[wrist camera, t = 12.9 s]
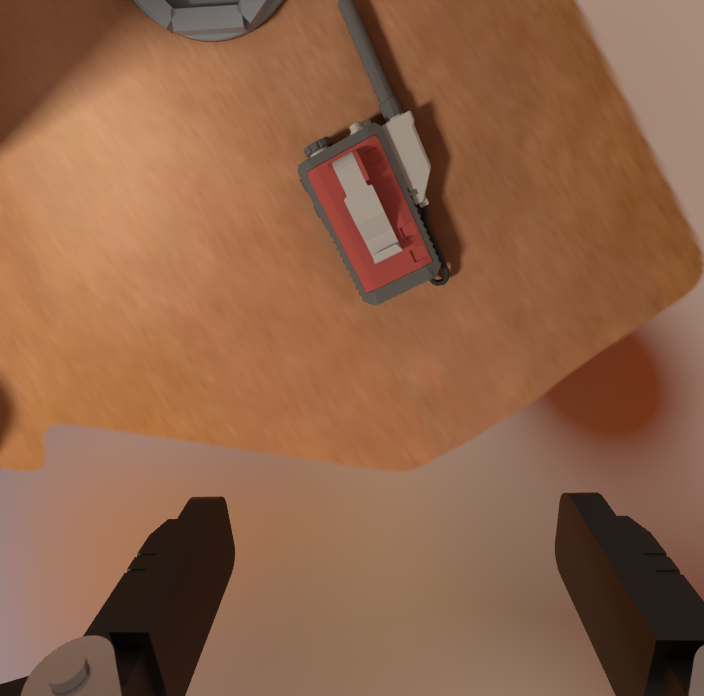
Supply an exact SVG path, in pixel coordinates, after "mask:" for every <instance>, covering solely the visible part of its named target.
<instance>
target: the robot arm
mask: <svg viewBox="0 0 704 696" xmlns="http://www.w3.org/2000/svg"><path fill="white" fill-rule="evenodd" d="M555 557H556V562H557V566H558V570H559V573H560V575H561V578H562V580H563V582H564V584H565V586H566V588H567V591H568V593H569V595H570V597H571V599H572V602H573V603H574V606H575V608H576V610H577V612H578V614H579V617H580V619H581V621H582V623H583V625H584V628H585V630H586V632H587V634H588V636H589V639H590V641H591V643H592V645H593V647H594V649H595V652H596V654H597V656H598V658H599V660H600V663H601V665H602V667H603V669H604V671H605V673H606V676H607V678H608V680H609V682H610V684H611V686H612V689H613V691H614V693H615V695H616V696H704V601H703V600H702V599H701V597H700V596H699V595H698V594H697V592H696V591H695V590H694V588H693V587H692V586H691V584H690V583H689V582H688V581H687V579H686V578H685V577H684V575H681V574H680V572H679V569H678V568H677V566H676V565H675V564H674V562H673V561H672V560H671V559H670V557H667V556H666V552H665V551H664V550H663V548H662V547H661V546H660V544H659V543H658V542H657V540H656V539H655V538H654V537H653V536H652V534H651V533H650V532H649V531H647V530H646V529H645V528H643V527H642V526H641V525H639V524H638V523H637V522H635V521H634V520H633V519H631V518H630V517H628V516H616V515H615V513H614V512H613V510H612V509H611V508H610V506H609V505H608V503H607V502H606V500H605V499H604V498H603V496H602V495H601V494H599V493H563V494H562V495H561V498H560V504H559V513H558V522H557V530H556V539H555ZM234 560H235V546H234V540H233V535H232V530H231V525H230V519H229V514H228V509H227V505H226V501H225V499H224V498H223V497H192V498H190V500H189V501H188V502H187V504H186V505H185V507H184V509H183V510H182V512H181V514H180V515H179V517H178V519H168V520H167V521H166V522H164V523H163V524H162V525H161V526H160V527H159V528H157V529H156V530H155V531H154V532H153V533H151V534H150V535H149V537H148V538H147V540H146V541H145V543H144V545H143V546H142V547H141V549H140V550H139V552H138V555H137V557H135V558H134V560H133V561H132V563H131V564H130V566H129V567H128V569H127V573H124V575H123V577H122V578H121V579H120V581H119V582H118V584H117V585H116V587H115V589H114V590H113V592H112V593H111V595H110V596H109V598H108V599H107V601H106V602H105V604H104V605H103V607H102V608H101V610H100V611H99V613H98V614H97V616H96V617H95V619H94V621H93V622H92V624H91V625H90V627H89V628H88V630H87V631H86V633H85V634H84V636H83V637H80V638H77V639H74V640H72V641H69V642H67V643H65V644H63V645H62V646H60V647H58V648H57V649H55V650H54V651H52V652H51V653H50V654H49V655H48V656H46V657H45V658H44V659H43V660H42V661H41V662H40V663H39V664H38V665H37V666H36V668H35V669H34V670H33V671H32V673H31V674H30V675H29V676H27V677H24V678H21V679H17V680H14V681H10V682H7V683H3V684H0V696H185V694H186V692H187V689H188V687H189V684H190V682H191V678H192V676H193V674H194V671H195V668H196V666H197V663H198V660H199V658H200V655H201V653H202V650H203V647H204V645H205V642H206V640H207V637H208V634H209V632H210V629H211V626H212V624H213V621H214V619H215V616H216V613H217V611H218V608H219V605H220V603H221V600H222V598H223V595H224V592H225V590H226V587H227V584H228V582H229V579H230V577H231V574H232V570H233V566H234Z"/></svg>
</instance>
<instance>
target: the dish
mask: <svg viewBox="0 0 704 696" xmlns="http://www.w3.org/2000/svg"><path fill="white" fill-rule="evenodd" d="M133 1H134V2H135V3H136V4H137V5H138V7H139V8H140V9H141V10H142V11H144V12H145V13H146V14H147V15H148V16H149V17H151V18H152V19H153V20H154V21H156V22H157V23H159V24H160V25H162V26H163V27H165V28H166V29H167V30H169V31H170V32H171V33H173V32H174V33H176V34H177V35H179V36H183V37H186V38H189V39H192V40H197V41H203V42H220V41H228V40H232V39H235V38H238V37H241V36H243V35H245V34H247V33H249V32H252V31H253V30H255V29H256V28H258V27H259V26H260V25H262V24H263V23H264V22H265V21H266V20H267V19H269V18H270V17H271V16H272V15H273V14H274V12H275V11H276V10H277V9H278V7H279V6H280V5H281V4H282V2H283V0H133Z"/></svg>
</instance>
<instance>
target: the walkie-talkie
mask: <svg viewBox="0 0 704 696" xmlns="http://www.w3.org/2000/svg"><path fill="white" fill-rule="evenodd" d="M338 6H339V9H340V12H341V14H342V16H343V19H344V21H345V23H346V26H347V28H348V30H349V33H350V35H351V37H352V40H353V42H354V44H355V47H356V49H357V51H358V54H359V56H360V58H361V61H362V63H363V65H364V68H365V70H366V72H367V74H368V77H369V79H370V81H371V84H372V86H373V88H374V91H375V93H376V95H377V98H378V100H379V102H380V106H379V107H380V110H381V112H382V114H383V117H384V119H385V121H386V124H384V125H382V126H380V125H379V124H377V123H375V122H374V123H371V120H370V118H368V119H366V120H364V121H363V122H361V123H360V121H359V122H357V123H355V124H353V125H351V126H350V127H349V128H350V130H351V133H350V134H351V135H350V136H348V137H346V138H345V139H343V140H341V141H339V142H338V143H336V144H334V145H332V146H331V144H332V142H331V139H330V138H329V137H324V138H322V139H320V140H318V141H316V142H314V143H312V144H311V145H309V146H308V147H307V148H305V150H304V153H305V155H306V156H307V157H311V158H309V159H307V160H306V161H304V162H302V163H301V164H299V168H298V174H299V176H300V178H301V179H300V181H301V183H302V185H303V187H304V189H305V191H306V192H308V193H309V195H310V197H311V199H312V201H313V203H314V209H315V211H316V213H317V214H318V216H319V218H321V219H322V221H323V223H324V225H325V227H326V229H327V230H329V232H330V237H332V238H333V240H334V241H333V243H335V244H336V246H337V248H336V249H337V250H339V252H340V257H342V258H343V263H344V264H346V266H347V270H349V272H350V276H351V277H352V278H353V282H354V283H355V284H356V288H357V289H358V290H359V294H360V296H362V298H363V301H365V302H367V303H369V304H372V305H377V304H380V303H382V302H384V301H386V300H388V299H391V298H393V297H395V296H397V295H399V294H401V293H403V292H405V291H407V290H410V289H412V288H414V287H416V286H418V285H420V284H422V283H424V282H427V281H430V282H431V283H432V284H433V285H436V286H439V285H444V284H445V283H447V281H448V279H449V269H448V267H447V265H446V262H445V260H444V258H443V255H442V253H441V251H440V248H439V246H438V244H437V242H436V239H435V237H434V235H433V232H432V230H431V227H430V225H429V222H428V209H427V206H426V205H428V204H429V203H428V200H427V198H426V195H425V192H426V187H427V183H428V178H429V174H430V169H431V165H430V162H429V160H428V157H427V155H426V152H425V150H424V147H423V145H422V143H421V140H420V138H419V135H418V133H417V130H416V128H415V125H414V122H415V119H414V117H413V115H412V112H411V110H410V111H407V112H406V113H403V111H402V109H401V106H400V104H399V102H398V100H397V97H395V96H394V95H393V93H392V90H391V88H390V86H389V83H388V81H387V79H386V76H385V74H384V71H383V69H382V67H381V64H380V62H379V60H378V57H377V55H376V52H375V50H374V48H373V45H372V43H371V40H370V38H369V36H368V33H367V31H366V29H365V26H364V24H363V21H362V19H361V17H360V14H359V12H358V10H357V7H356V5H355V2H354V0H339V2H338ZM414 204H415V205H417V204H418V205H419V207H420V208H422V220H421V219H420V217H421V216H420V214H419V213H418V212H417V210H418V209H417V207H415V205H414ZM423 224H424V226H423ZM426 232H427V233H426ZM429 239H430V240H429ZM438 259H439V260H438ZM440 266H442V269H443V272H444V275H443V278H442V279H440V280H435V279H434V277H436V276H437V275H438V272H439V269H440Z"/></svg>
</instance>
